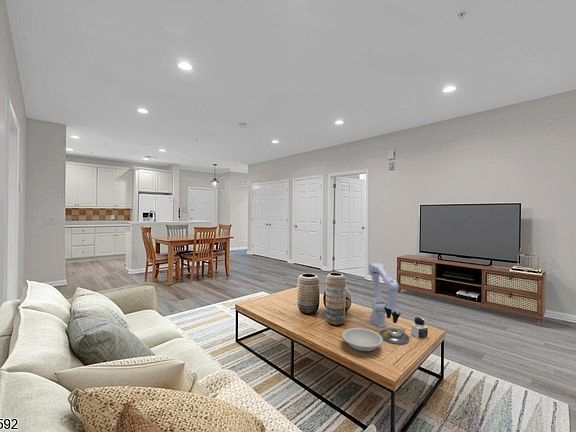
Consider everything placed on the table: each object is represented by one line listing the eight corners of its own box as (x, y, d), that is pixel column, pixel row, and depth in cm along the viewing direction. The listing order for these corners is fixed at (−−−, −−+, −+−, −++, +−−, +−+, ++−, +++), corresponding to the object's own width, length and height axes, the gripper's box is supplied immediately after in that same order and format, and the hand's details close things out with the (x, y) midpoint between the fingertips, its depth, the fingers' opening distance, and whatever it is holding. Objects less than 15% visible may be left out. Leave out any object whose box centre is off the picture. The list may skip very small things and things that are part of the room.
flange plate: (373, 335, 183) (374, 333, 183) (390, 329, 193) (390, 326, 193) (398, 347, 168) (398, 344, 168) (414, 339, 178) (414, 337, 178)
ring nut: (380, 335, 179) (380, 330, 179) (395, 329, 189) (395, 324, 189) (392, 341, 172) (392, 336, 172) (407, 334, 181) (407, 329, 181)
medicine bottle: (418, 339, 179) (419, 321, 178) (410, 334, 186) (411, 316, 185) (427, 338, 181) (428, 320, 180) (419, 333, 188) (420, 315, 187)
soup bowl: (352, 334, 185) (352, 324, 185) (388, 346, 170) (388, 335, 170) (334, 348, 167) (334, 337, 166) (373, 363, 151) (373, 351, 151)
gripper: (381, 296, 189) (380, 316, 190) (392, 304, 175) (392, 325, 175) (390, 296, 190) (390, 315, 191) (402, 304, 176) (402, 324, 176)
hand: (391, 320), depth 183 cm, fingers open, 7 cm apart
